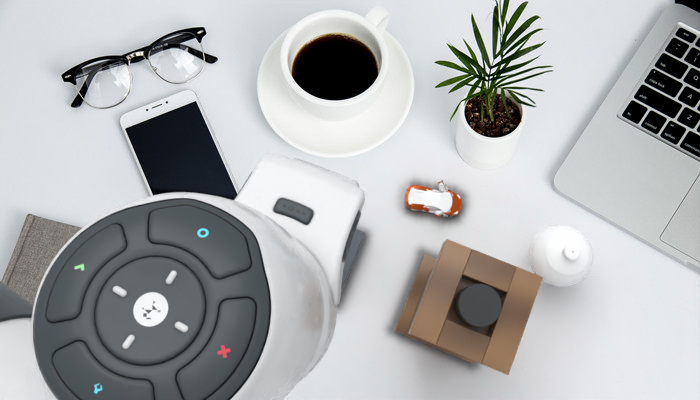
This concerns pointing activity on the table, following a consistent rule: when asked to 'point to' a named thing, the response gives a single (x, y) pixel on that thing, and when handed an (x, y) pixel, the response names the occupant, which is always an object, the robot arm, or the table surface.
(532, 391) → the table surface
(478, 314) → the button
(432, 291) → the button stand
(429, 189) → the toy car
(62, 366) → the robot arm
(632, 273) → the table surface
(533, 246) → the white lidded jar
